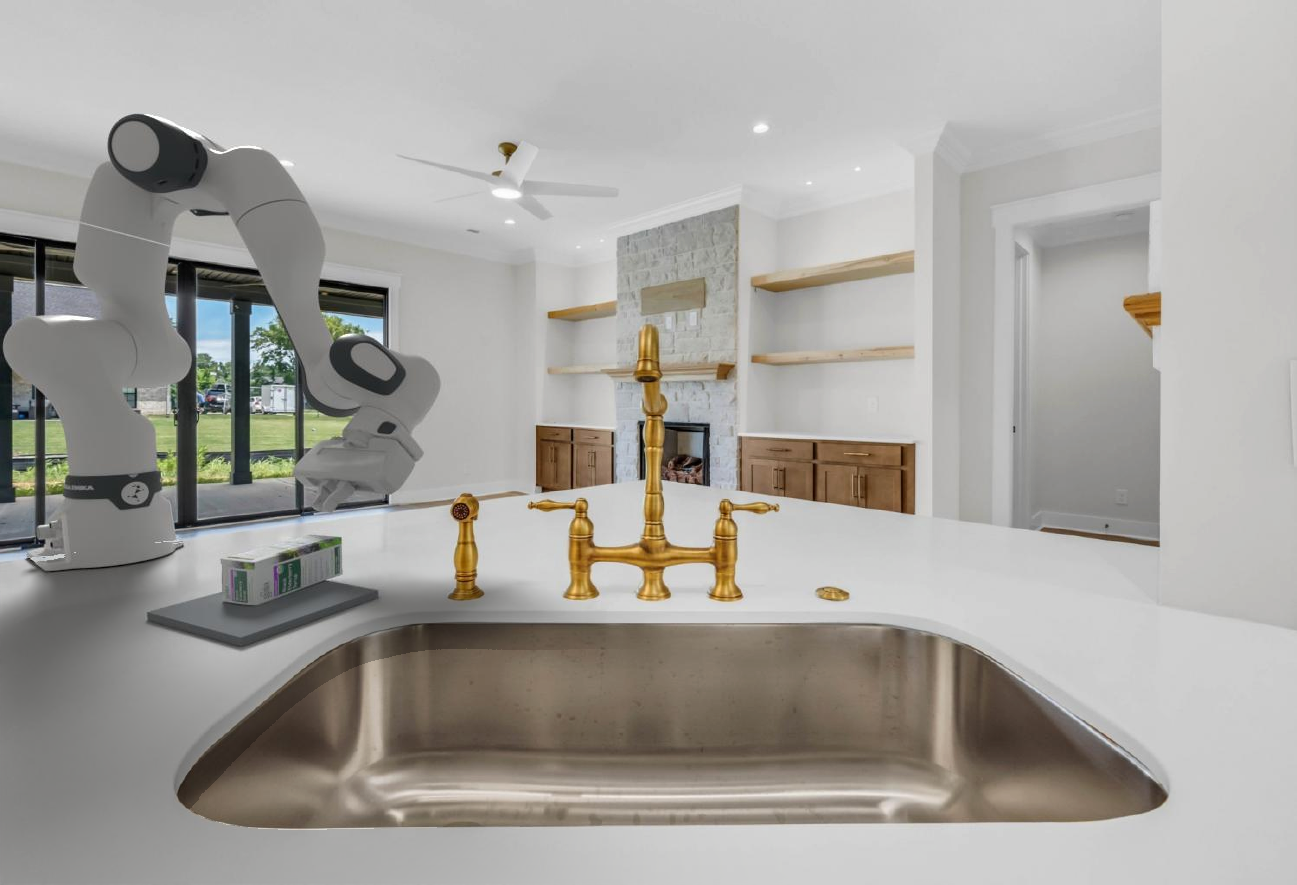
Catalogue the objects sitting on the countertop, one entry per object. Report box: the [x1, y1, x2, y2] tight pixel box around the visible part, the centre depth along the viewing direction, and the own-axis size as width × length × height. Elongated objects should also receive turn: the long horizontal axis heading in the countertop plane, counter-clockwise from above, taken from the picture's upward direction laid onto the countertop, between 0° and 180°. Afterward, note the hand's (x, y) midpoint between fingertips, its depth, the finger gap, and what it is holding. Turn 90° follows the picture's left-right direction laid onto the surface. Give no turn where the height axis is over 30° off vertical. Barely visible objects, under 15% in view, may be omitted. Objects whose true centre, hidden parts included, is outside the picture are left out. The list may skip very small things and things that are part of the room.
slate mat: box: [146, 579, 379, 648], centre depth 78 cm, size 18×18×1 cm
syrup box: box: [219, 534, 344, 606], centre depth 83 cm, size 6×6×14 cm
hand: (320, 509), depth 90 cm, fingers closed
